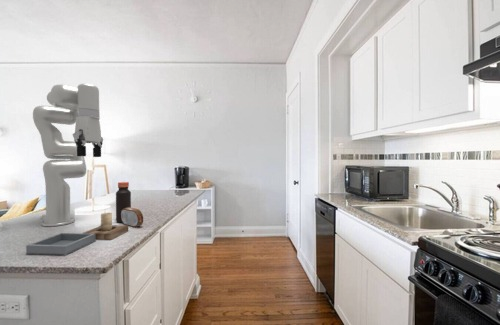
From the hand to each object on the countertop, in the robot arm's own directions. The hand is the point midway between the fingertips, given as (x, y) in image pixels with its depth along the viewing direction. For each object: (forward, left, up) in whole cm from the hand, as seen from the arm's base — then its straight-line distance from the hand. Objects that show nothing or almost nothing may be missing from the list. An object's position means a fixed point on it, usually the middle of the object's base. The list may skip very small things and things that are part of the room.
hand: (89, 156), depth 100 cm
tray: (0, -13, -33) cm, 35 cm away
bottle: (0, +24, -33) cm, 41 cm away
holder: (+6, +2, -33) cm, 34 cm away
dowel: (+6, +2, -33) cm, 34 cm away
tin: (+8, +17, -33) cm, 38 cm away
